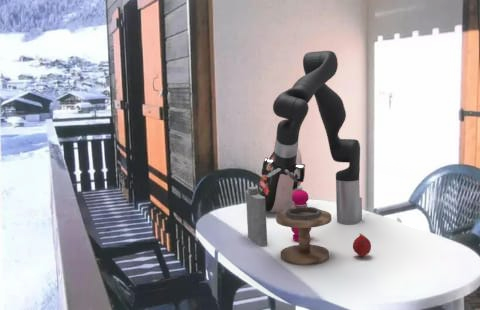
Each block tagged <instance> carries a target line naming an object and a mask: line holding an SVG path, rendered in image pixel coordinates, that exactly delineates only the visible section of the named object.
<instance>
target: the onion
mask: <svg viewBox="0 0 480 310" xmlns="http://www.w3.org/2000/svg"><path fill="white" fill-rule="evenodd" d="M352 249H353V251H354V252H355V253H356V254H357V256H359V257H360V258H364V257H366V256H367V255H368V254H370V252H371V250H372V243H371V241H370V239H369V238H367V237H366V236H365V235H364V234H363V233H362V232H361V233H360V232H359V236H357V237H356V238H355V239H354V241H353V243H352Z"/></svg>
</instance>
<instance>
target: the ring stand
mask: <svg viewBox="0 0 480 310" xmlns="http://www.w3.org/2000/svg"><path fill="white" fill-rule="evenodd" d="M331 221H332V214H331V213H330V212H328V211H327V210H323V209H319V208H317V207H313V206H307V207H296V208H294V207H292V208H291V209H288V210H287V211H283V212H280V213H276V215H275V222H276V223H277V224H278V225H280V226H283V227H286V228H291V227H292V228H298V231H299V242H298V244H296V245H290V246H287V247H284V248H282V249H281V251H280V259H281V260H282V261H284V262H285V263H286V264H291V265H298V266H311V265H312V264H313V265H318V264H322V263H324V262H326V261H328V260H329V259H330V251H329V250H328V248H326V247H323V246H321V245H317V244H316V245H315V244H311V233H310V232H311V231H310V232H309V228H311V229H312V228H317V227H323V226H326V225H328V224H330V223H331Z"/></svg>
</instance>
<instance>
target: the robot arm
mask: <svg viewBox="0 0 480 310" xmlns="http://www.w3.org/2000/svg"><path fill="white" fill-rule="evenodd" d="M302 59H303V60H302V66H303V71H304V74H305V75H302V76H301V77H300V78H298V79H297V80H296V82H295V83H294V84H293V85H292V87H291V88H288V89H287V90H285V91H283V92H281V93H280V94H278V96H277V97H276V98H275V99H274V101H273V104H272V109H273V113H274V115H276V116H277V117H280V118H282V120H280V121H279V122H278V124H277V128H276V137H275V138H276V139H275V141H274V145H273V152H274V157H273V160H269V158H268V157H264V159H263V163H262V168H261V176H262V175H266V176H267V180H266V182H267V183H268V185H270V184H271V177H272V175H274V174H276V173H278V174H284V175H289V176H290V178H291V179H293V180H294V183H293V190H295V189H296V188H297V186H298V182H299V181H300V182H301V183H303V182H304V180H305V174H306V173H305V171H306V164H304V163H302V165H301V166H300V165H297V164H296V158H297V152H298V149H299V137H300V130H301V127H302V124H303V123H304V121H305V119H306V117H307V115H308V114H309V113H308V112H309V109H310V108H309V105H308V104H309V102H311V100H312V98H313V96H314V98H315V101H316V105H317V108H318V112H319V115H320V118H321V122H322V124H323V128H324V129H325V133H326V136H327V141H328V146H329V152H330V155H331V158H332V159H333V161H334V162H337V163H346V164H347V163H349V165H348V167H347V168H344V169H341V170H338V171H337V172H336V173H335V192H336V194H335V195H336V196H335V197H336V198H335V199H336V222H337V223H338V224H344V225H354V224H359V223H360V222H362V221H363V198H362V197H361V195H360V194H361V191H360V186H361V185H360V172H361V171H360V170H361V169H360V167H361V165H360V164H361V163H360V162H361V145H360V142H359V140H358V139H355V138H340V137H339V133H340V130H341V129H342V127H343V125H344V123H345V121H346V118H347V112H346V108H345V105H344V101H343V99H342V98H341V96H340V95H339V94H338V93H337V92H336V91H334V90H333V89H332V88H331V87H330V86H328V84H326V83H328V81H329V80H331V79H332V78H333V77H334V76H335V75H336V73H337V70H338V66H339V63H338V61H339V60H338V57H337V54H336V53H335V52H334V51H331V50H319V51H310V52H307V53H305V54H304V56H303V58H302ZM270 164H271V165H272V168H271V169H270V170H266V169H267V166H269V165H270ZM296 169H298V171H299V173H300V176H298V174H297V173H296Z"/></svg>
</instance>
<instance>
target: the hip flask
mask: <svg viewBox="0 0 480 310" xmlns="http://www.w3.org/2000/svg"><path fill="white" fill-rule="evenodd" d="M258 187H259V186H250V187H248V188H247V189H246V190H245V201H246V203H245V204H246V221H247V237H248V239H250V240H249V241H251V242H252V243H254V244H255V245H256V246H259V247H261V248H262V247H267V246H268V231H267V230H268V228H267V211H266V204H265V197H263V196H261V195H259V194H258Z"/></svg>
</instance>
